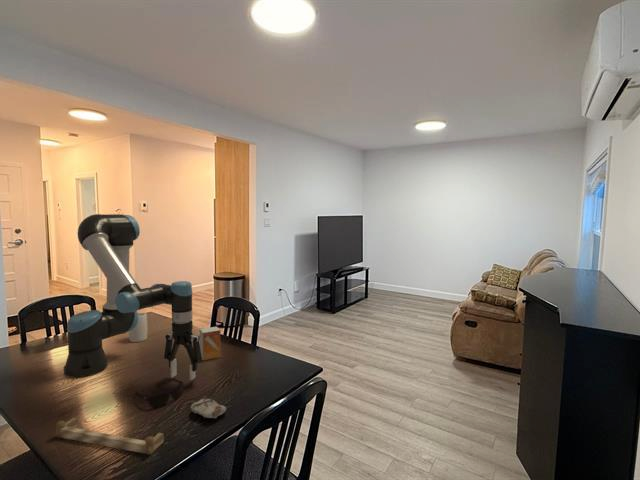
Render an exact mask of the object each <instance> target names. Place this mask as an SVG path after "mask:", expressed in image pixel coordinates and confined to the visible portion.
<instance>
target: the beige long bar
mask: <svg viewBox="0 0 640 480" xmlns="http://www.w3.org/2000/svg"><path fill="white" fill-rule="evenodd" d="M78 420H79V418H77V417H73V418H71V419H70V420H68V421H66V420H59V421H57V422H56V437H57V438H59V439H60V438H62V439H66V440H73V441H79V442H84V443H88V444H92V445H93V444H94V445H98V446H102V447H103V446H105V447H110V448H114V449H119V450H125V451H130V452H136V453H141V454H146V455H147V456H150V455H152V454H154V452H155V451H156V450H157V449H158V448H159V447H160V446H161V445H162V444H163V443H164V441H165V440H164V439H165V438H164V432H163V433H162V432H158V433H157V434H156V435H155V436H153V435H150V436H147V437H146V438H145V440H143V439H137V438H132V437H126V436H123V435H122V436H121V435H115V434H110V433H105V432H99V431H93V430H89V429H83V428H78V427H79V421H78Z"/></svg>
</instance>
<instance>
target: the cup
mask: <svg viewBox="0 0 640 480" xmlns="http://www.w3.org/2000/svg"><path fill="white" fill-rule="evenodd" d="M128 336H129V342H131V343H132V342H133V343H138V342H144V341H146V340H147V338H148V316H147V313H146V312H138V322H137V325H136V326H135V328H134V329H133V330H131V331H128Z"/></svg>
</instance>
